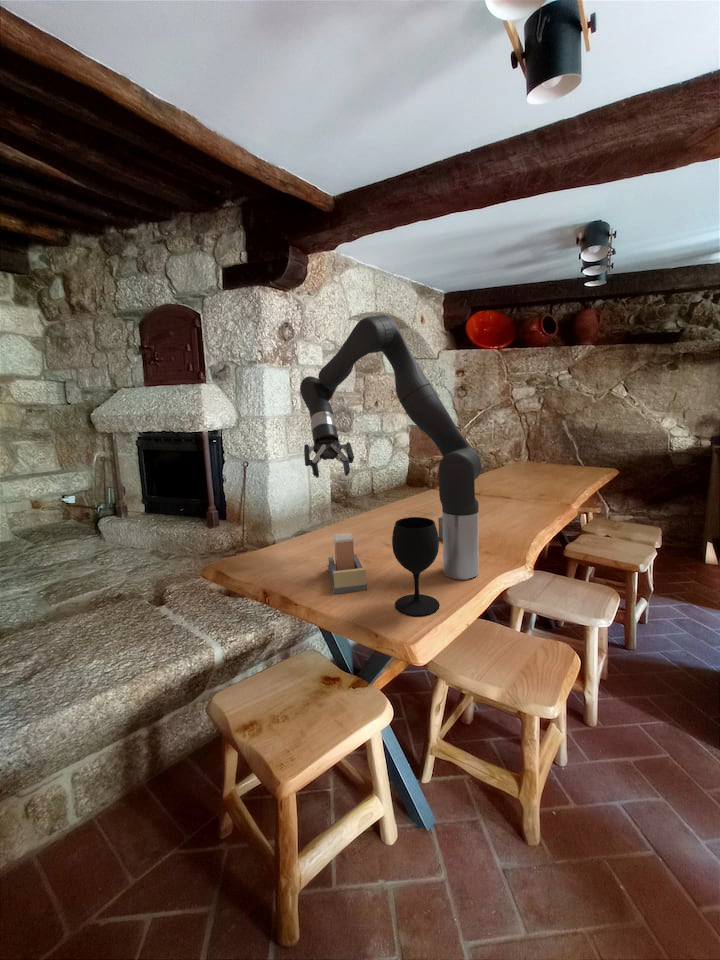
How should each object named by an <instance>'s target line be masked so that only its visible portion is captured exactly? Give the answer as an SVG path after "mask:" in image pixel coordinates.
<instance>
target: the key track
mask: <svg viewBox="0 0 720 960" xmlns="http://www.w3.org/2000/svg"><path fill="white" fill-rule="evenodd" d="M354 564H355V569H349V570H340V571H337V570H336V562H335V560H334V558H333V556H331V557H328V564H327V569H328V574H329V578H330V582H331V586H332V590H333V595H336V594H345V593H352V592H362V591H368V583H367V573H366V567H363V566H362V564H361V561H360V559H359V557H358V555H357V554H354Z"/></svg>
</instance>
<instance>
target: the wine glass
mask: <svg viewBox="0 0 720 960" xmlns="http://www.w3.org/2000/svg"><path fill="white" fill-rule="evenodd" d="M392 531H393V532H392V537H391V543H392V545H391V546H392V550H393V551H392V552H393V555H394V558H395V559H396V560H397V562H398V563H399V564H400V565H401V566H402V567H403V568H404V569H405V570H407V571H408V572H410V573H411V574H412V577H413V582H414V585H413V587H414V593H413V594H406V595H403V596H401V597H398V599H396V601H395V602H394V608H395V610H396V611H397V612H399V613H400V614H402V615H405V616H408V617H413V618H415V617H418V618H419V617H427V615H428V616H431V615H433V613H434V614H435V613H437V612H438V611H439V610H440V608H439V607H441V606H440V602H439V600H438V599H436V598H435V597H433V596H431V595H428V594H427V595H426V594H423V593H422V594H421V593H420V589H419V588H420V587H419V585H420V584H419V582H420V581H419V580H420V576H421V575H420V574H422V572H424V571H426V569H428V568H429V567H430V566H432V564H433V563H434V562H435V560H436V558H437V556H438V553H439V547H440V542H439V541H440V539H439V531H438V528H437V525H436V523H435V521H434V520H433V519H432V518H427V517H419V516H412V517H411V516H410V517H403V518H399V519H398V520H396V521H395V523H394V527H393V530H392ZM438 609H439V610H438ZM437 610H438V611H437ZM436 611H437V612H436ZM430 614H431V615H430Z"/></svg>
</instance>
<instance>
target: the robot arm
mask: <svg viewBox="0 0 720 960" xmlns="http://www.w3.org/2000/svg"><path fill="white" fill-rule="evenodd" d="M351 330H352V331H351V332H350V333H349V335H348V337H347V338H346V340H345V341H344V342H343V344H342V345H341V347H340V349H339V350H338V351H337V353H336V354H335V355H334V356H333V357H332V358H331V359H330V360H329V361H328V362H327V363H326V364H324V366H323V367H322V368H321V369H320V370H319V372H318V377H315V376H311V375H309V376H306V377H304V378H303V379H302V381H301V382H300V385H299V387H300V388H299V389H300V395H301V397H302V400H303V402H304V404H305V405H306V408H307V410H308V412H309V416H310V431H311V435H312V441H313V445H312V446H310V445H309V444H304V446H303V453H304V454H303V455H304V465H305V466H306V467H308V466H309V467H311V468H312V469H311V470H312V475H313V477H315V478H316V479H318V478H319V477H320V473H319V472H320V471H319V466H318V464H319V463H320V462H321V460H324V461H325V460H326V461H327V460H336V461H337V462H340V463H341V464H343V465H342V468H343V471H344V475H345V477H347V476H349V474H350V473H351V468H350V464H353V463H354V459H355V455H354V452H353V448H352V444H351V443H350V442H349V441H348V442H346V444H341V443H340V439H339V434H338V430H337V423H336V421H335V417H334V413H333V408H332V405H331V403H330V402H329V401H331V400H332V398H333V396H334V394H335V392H336V390H337V388H338V386H340V385H341V383H343V382H344V381H345V380H346V379H347V378H348V377H349V376H350V374H351V373H352V371H353V368H354V365H355V364H356V362H357V361H359V360H360V359H362V358H364V357H365V356H368V355H369V354H376V353H381V352H382V353H383V355H384V356H385V357H386V359H387V360H388V362H389V364H390V365H391V367H392V370H393V374H394V380H395V381H394V382H395V383H394V384H395V392H396V395H397V399H398V401H399V403H400V405H401V406H402V408H403V410H404V411H405V413H406V414H407V415H408V417H409V419H410V420H411V421H412V422H413V423H414V424H415V425H416V426H417V427H418V428H419V429H420V430H421V431H422V432H423V433H424V434H426V435H427V436H428V437H429V438H430V439H431V441H433V443H434V444H435V445H436V447H437V449H438V450H439V452H440V453H441V456H442V458H441V460H440V462H439V465H438V471H437V473H438V493H439V494H438V495H439V501H440V503H441V507H442V509H441V511H442V513H441V515H442V516H441V517H443V540H442V556H443V557H442V562H443V563H442V564H443V565H442V566H443V567H442V569H443V570H442V571H443V574H444V576H446V577H447V578H451V579H454V580H470V579H469V578H472V579H474V578H473V577H475V576H476V577H478V576H479V560H480V559H479V553H480V552H479V543H480V542H479V539H480V538H479V537H480V535H479V529H480V528H479V525H480V524H479V514H480V513H479V508H480V507H479V505H480V504H479V501H478V499H477V498H476V493H475V492H476V490H475V487H476V486H475V485H476V484H475V481H476V480H477V479H478V478H479V477H480V475H481V472H482V461H481V458H480V456H479V454H478V453H477V451H475V449H474V447H472V446H471V444H470V443H469V442H468V441H467V439H466V438H465V437H464V435H463V434H462V432H461V431H460V430H459V429H458V427H457V426H456V424H455V422H454V421H453V419H452V417H451V415H450V413H449V412H448V410H447V408H446V407H445V406H444V403H443V402H442V400H441V399H440V397H439V395H438V394H437V392H436V391H435V388H434V387H433V385H432V384H431V382H430V381H429V380H428V378H427V377H426V375H425V374H424V372H423V370H422V369H421V367H420V366H419V363H418V362H417V361H416V359H415V357H414V355H413V354H412V352H411V350H410V348H409V346H408V344H407V342H406V340H405V338H404V335H403V334H402V331H401V330H400V327H399V326H398V324H397V323H396V322H395V320H394V319H393V318H391V317H390V316H388V315H375V316H368V317H367V316H366V317H363V318H361V319H360V320H359V321H358V322H357V323H356V325H355V326H354V327H353V329H351ZM342 450H343V451H344V452H345V453H346V454H344V452H343V451H342ZM312 452H314V454H315V456H314V457H313V459H310V455H311V453H312ZM476 577H475V578H476Z"/></svg>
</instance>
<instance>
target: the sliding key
mask: <svg viewBox="0 0 720 960" xmlns="http://www.w3.org/2000/svg"><path fill="white" fill-rule="evenodd" d="M354 539H355V538H354V537H353V535H352V533H351V532H348V533H346V532H345V533H338V534H337V533H335V534H333V546H334V547H333V548H334V559H335V560H334V563H335V564H336V570H337V571H340V570H349V569H355V564H354V555H355V550H354V549H355V547H354Z"/></svg>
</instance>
